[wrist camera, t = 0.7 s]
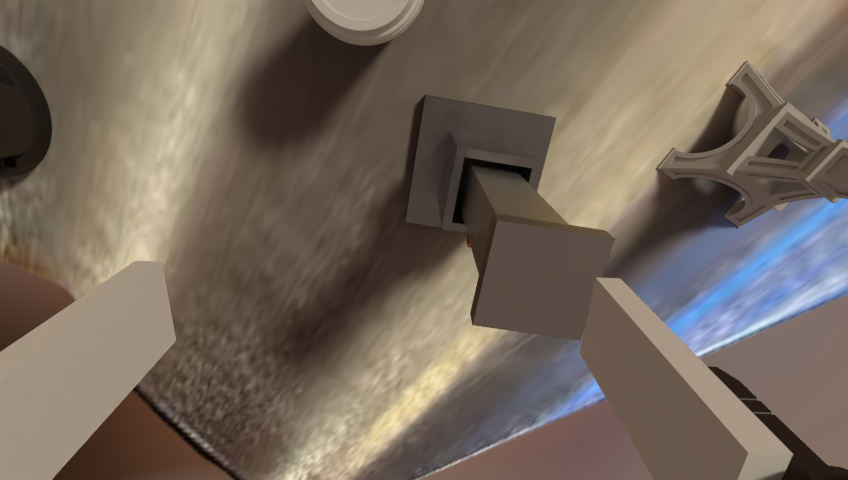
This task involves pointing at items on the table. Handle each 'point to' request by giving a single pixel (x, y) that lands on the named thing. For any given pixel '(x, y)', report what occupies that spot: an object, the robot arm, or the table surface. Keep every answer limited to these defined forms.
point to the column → (527, 255)
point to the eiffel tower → (746, 154)
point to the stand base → (470, 154)
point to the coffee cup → (364, 18)
